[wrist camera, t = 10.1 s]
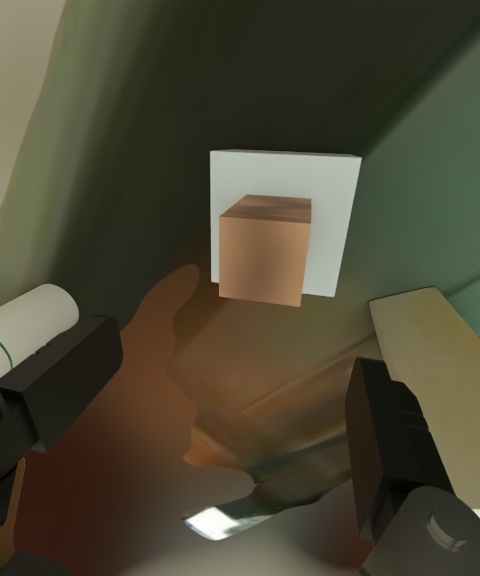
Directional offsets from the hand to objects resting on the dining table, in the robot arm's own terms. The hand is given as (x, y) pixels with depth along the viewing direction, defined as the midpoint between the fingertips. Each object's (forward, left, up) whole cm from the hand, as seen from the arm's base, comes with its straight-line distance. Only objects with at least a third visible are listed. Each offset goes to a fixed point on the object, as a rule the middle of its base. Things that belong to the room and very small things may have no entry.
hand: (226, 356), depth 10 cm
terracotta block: (0, 0, -16) cm, 16 cm away
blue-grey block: (0, 0, -23) cm, 23 cm away
